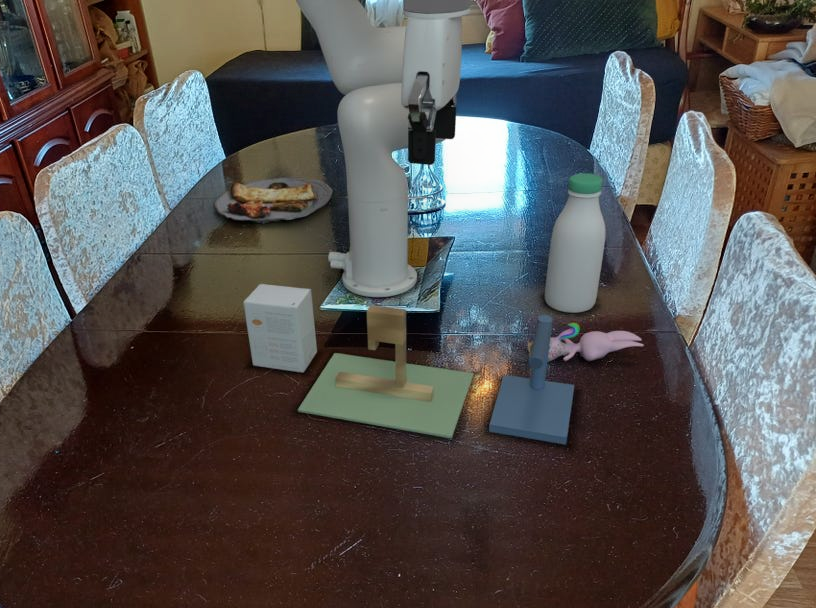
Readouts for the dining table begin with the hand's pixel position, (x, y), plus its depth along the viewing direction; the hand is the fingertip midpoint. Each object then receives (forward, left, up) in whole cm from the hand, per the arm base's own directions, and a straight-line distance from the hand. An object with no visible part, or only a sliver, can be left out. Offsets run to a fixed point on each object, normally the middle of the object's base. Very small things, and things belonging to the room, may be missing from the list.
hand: (432, 150), depth 91 cm
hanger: (-2, -14, -28) cm, 31 cm away
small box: (-19, -10, -28) cm, 35 cm away
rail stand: (+16, -13, -28) cm, 35 cm away
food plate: (-45, +45, -28) cm, 70 cm away
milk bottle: (+18, +17, -28) cm, 38 cm away
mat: (-2, -14, -28) cm, 32 cm away
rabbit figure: (+21, +1, -28) cm, 36 cm away
